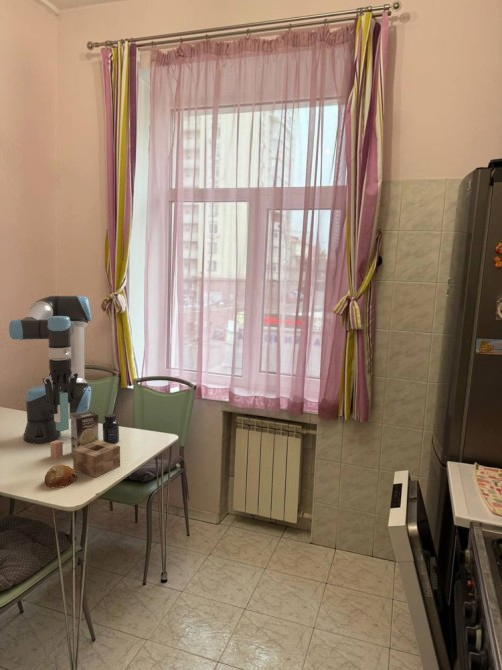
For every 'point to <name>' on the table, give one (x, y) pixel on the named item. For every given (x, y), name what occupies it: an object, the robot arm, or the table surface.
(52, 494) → the table surface
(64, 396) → the long peg
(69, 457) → the table surface
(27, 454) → the table surface
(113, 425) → the supplement bottle
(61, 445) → the short peg
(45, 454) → the table surface
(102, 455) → the hole block
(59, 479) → the bread roll
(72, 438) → the coffee box
